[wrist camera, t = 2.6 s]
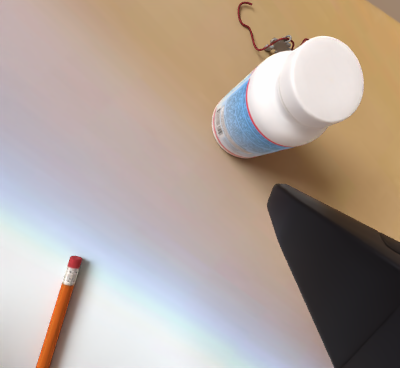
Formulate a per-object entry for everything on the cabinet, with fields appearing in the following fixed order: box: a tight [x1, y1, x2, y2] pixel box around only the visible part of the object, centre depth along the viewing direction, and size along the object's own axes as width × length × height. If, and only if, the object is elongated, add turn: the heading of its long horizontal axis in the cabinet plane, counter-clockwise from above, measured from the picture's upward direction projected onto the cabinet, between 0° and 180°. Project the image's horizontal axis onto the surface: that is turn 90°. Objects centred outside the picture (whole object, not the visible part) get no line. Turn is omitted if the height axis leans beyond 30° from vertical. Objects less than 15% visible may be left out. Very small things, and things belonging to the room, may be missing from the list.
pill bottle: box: [212, 36, 364, 158], centre depth 20 cm, size 6×6×11 cm
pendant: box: [238, 2, 309, 54], centre depth 25 cm, size 8×4×3 cm, turn 80°
